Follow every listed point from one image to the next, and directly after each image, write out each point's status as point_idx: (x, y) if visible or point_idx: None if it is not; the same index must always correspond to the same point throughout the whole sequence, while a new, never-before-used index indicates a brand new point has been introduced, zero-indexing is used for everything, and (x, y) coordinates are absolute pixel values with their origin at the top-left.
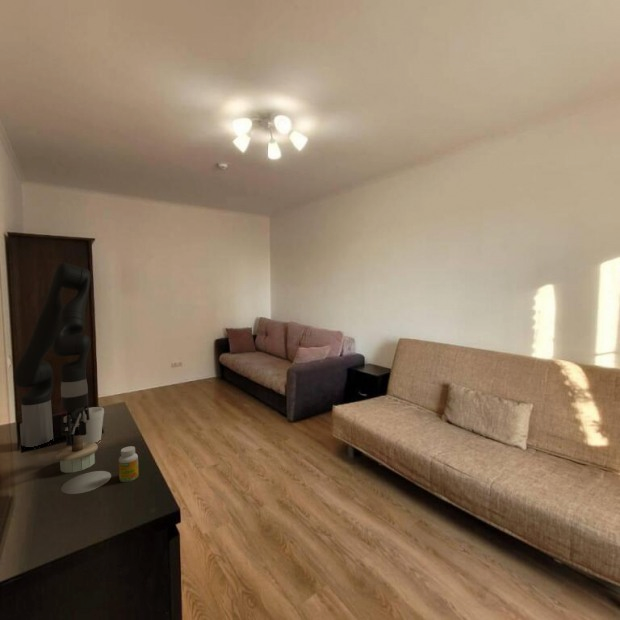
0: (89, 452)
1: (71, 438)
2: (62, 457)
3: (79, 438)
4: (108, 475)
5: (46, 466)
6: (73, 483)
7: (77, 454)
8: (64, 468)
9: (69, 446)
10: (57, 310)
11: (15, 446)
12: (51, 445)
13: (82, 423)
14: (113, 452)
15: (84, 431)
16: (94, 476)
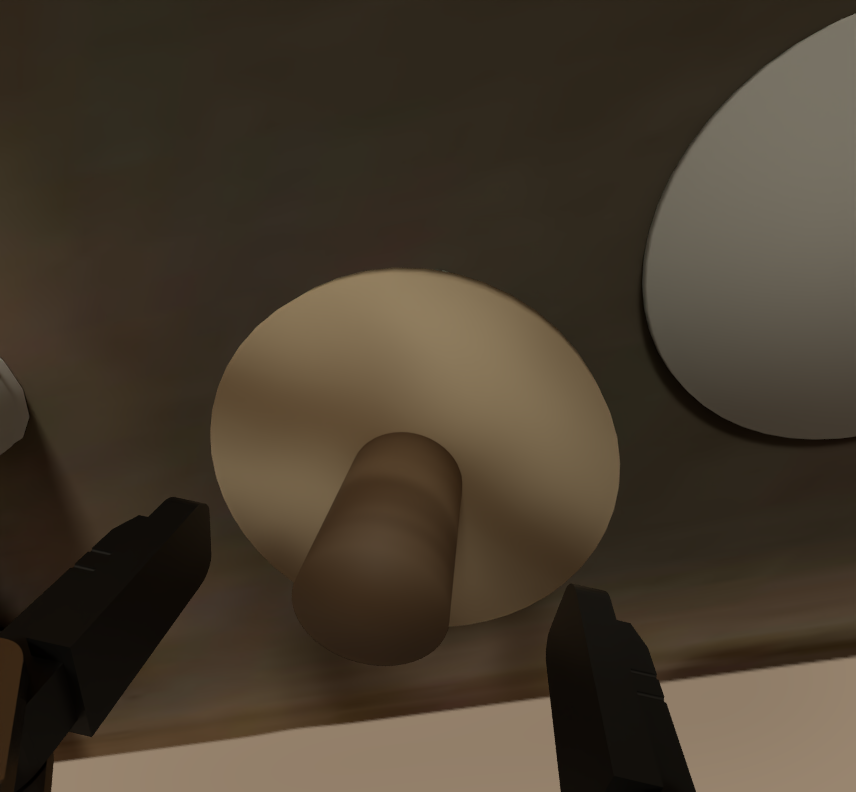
0: (556, 337)
1: (653, 720)
2: (564, 575)
3: (429, 565)
4: None
5: None
6: (816, 365)
7: (562, 459)
8: None
9: (278, 562)
10: None
11: None
12: (8, 612)
13: (37, 722)
14: (197, 135)
15: (170, 552)
16: (791, 203)
